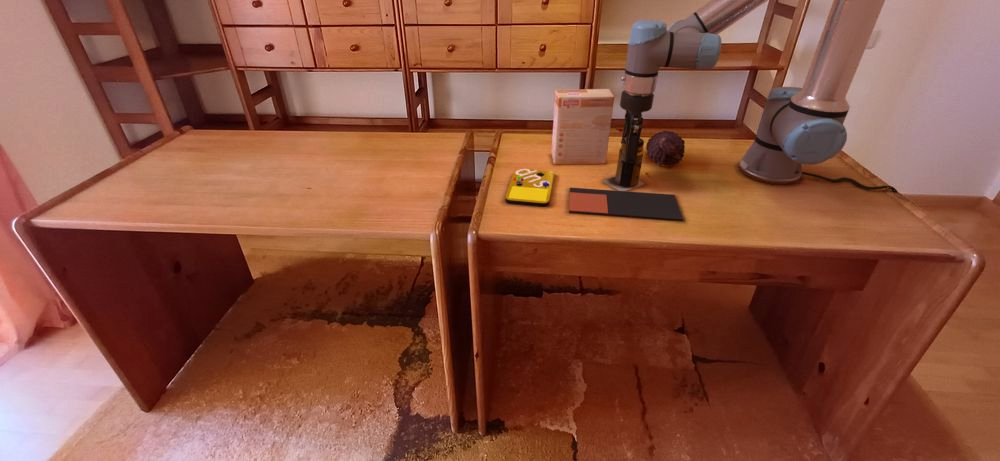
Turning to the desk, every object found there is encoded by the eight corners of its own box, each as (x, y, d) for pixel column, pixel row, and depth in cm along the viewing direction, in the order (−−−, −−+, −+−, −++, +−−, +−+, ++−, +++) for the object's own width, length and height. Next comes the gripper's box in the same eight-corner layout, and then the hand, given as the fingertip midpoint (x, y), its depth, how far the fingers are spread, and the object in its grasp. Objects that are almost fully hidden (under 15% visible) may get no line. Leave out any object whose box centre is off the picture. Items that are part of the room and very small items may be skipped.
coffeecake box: (600, 154, 142) (609, 88, 131) (606, 164, 136) (615, 96, 125) (550, 154, 141) (555, 88, 131) (553, 165, 135) (558, 96, 125)
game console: (550, 207, 115) (550, 202, 114) (504, 203, 116) (504, 198, 115) (554, 174, 130) (554, 169, 129) (513, 171, 131) (513, 167, 130)
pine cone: (629, 151, 143) (647, 121, 141) (656, 166, 146) (674, 137, 143) (654, 160, 126) (675, 126, 124) (683, 177, 129) (704, 144, 127)
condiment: (645, 184, 125) (653, 141, 119) (622, 192, 121) (629, 148, 115) (624, 174, 130) (631, 132, 124) (602, 181, 126) (607, 138, 120)
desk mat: (674, 196, 120) (674, 193, 119) (682, 221, 110) (683, 218, 109) (569, 189, 123) (570, 186, 122) (568, 213, 113) (569, 210, 112)
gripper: (619, 79, 122) (607, 162, 134) (625, 103, 106) (611, 195, 118) (649, 81, 121) (634, 164, 133) (659, 105, 105) (642, 197, 118)
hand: (623, 178), depth 126 cm, fingers closed on condiment, 6 cm apart
